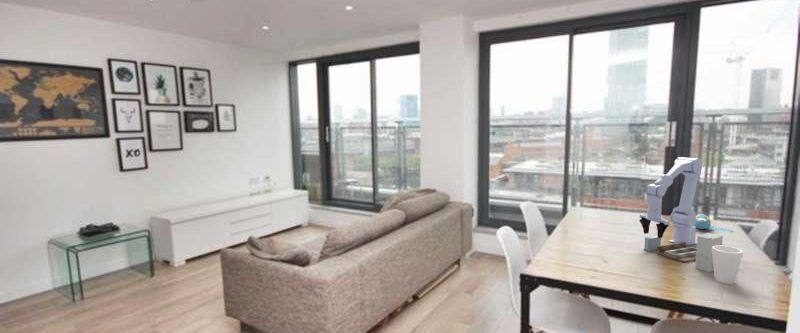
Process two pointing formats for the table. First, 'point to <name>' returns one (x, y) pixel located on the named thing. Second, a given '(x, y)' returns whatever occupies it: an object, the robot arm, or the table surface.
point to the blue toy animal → (706, 223)
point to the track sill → (678, 252)
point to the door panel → (652, 242)
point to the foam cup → (726, 263)
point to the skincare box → (706, 251)
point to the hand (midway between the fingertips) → (652, 235)
